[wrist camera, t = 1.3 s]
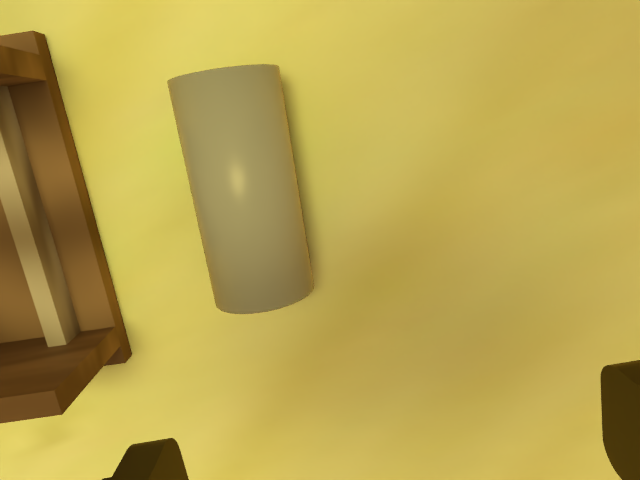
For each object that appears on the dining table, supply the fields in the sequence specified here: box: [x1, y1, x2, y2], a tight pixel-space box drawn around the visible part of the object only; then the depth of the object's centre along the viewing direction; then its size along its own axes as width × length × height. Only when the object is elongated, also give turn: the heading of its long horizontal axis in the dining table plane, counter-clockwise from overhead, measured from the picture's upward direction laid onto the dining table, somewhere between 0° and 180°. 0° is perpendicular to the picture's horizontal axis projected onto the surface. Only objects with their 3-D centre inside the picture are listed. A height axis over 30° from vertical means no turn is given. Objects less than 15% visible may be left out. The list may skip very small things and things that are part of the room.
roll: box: [167, 64, 314, 314], centre depth 23 cm, size 11×5×5 cm, turn 8°
